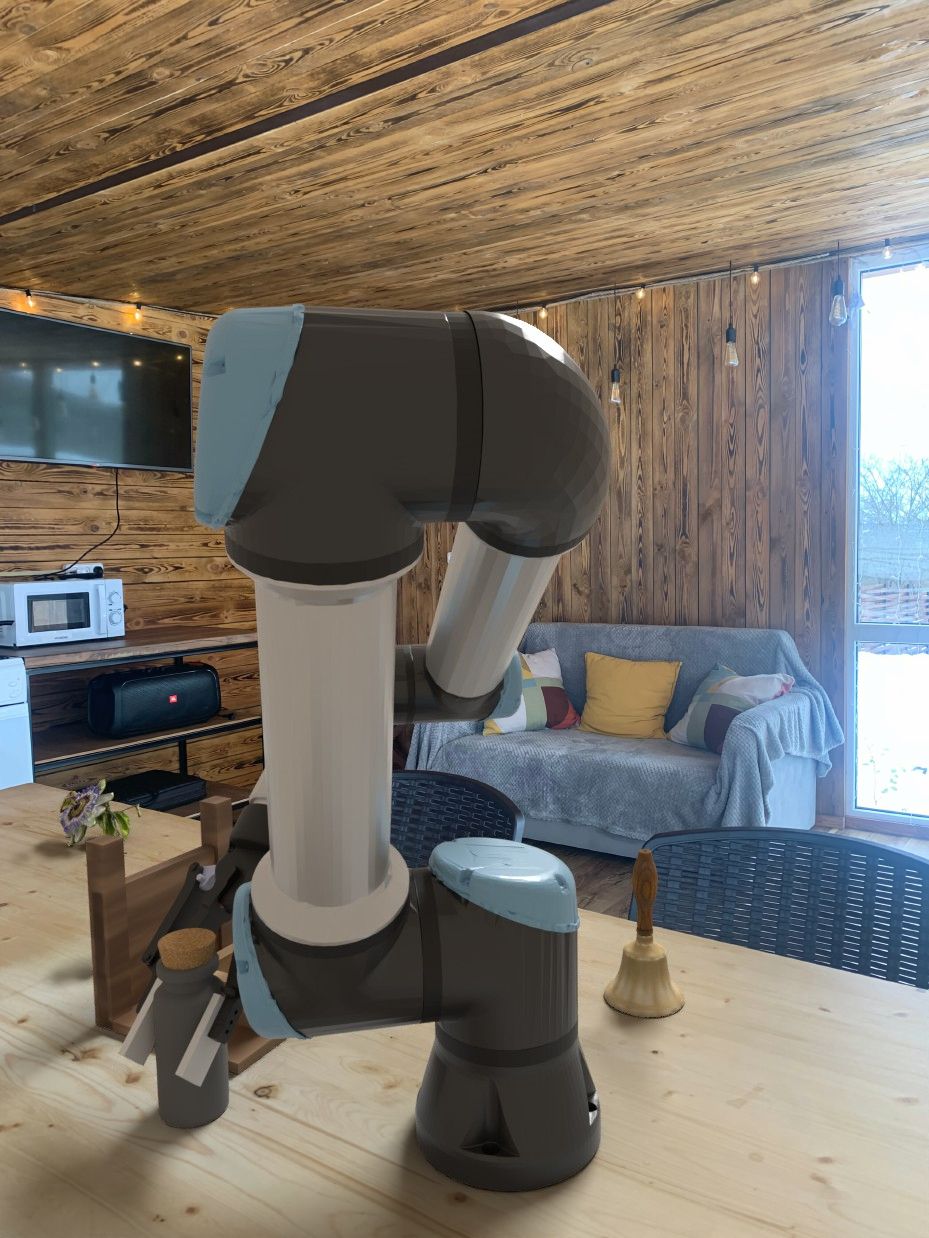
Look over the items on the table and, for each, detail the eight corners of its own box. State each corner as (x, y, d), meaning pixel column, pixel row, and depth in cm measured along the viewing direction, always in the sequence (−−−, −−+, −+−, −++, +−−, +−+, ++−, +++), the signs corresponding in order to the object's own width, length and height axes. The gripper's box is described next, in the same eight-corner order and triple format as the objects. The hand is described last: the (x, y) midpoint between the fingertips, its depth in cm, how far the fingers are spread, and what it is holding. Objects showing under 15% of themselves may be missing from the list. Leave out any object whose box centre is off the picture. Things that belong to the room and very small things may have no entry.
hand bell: (701, 1000, 96) (702, 851, 94) (647, 1027, 90) (647, 870, 89) (640, 971, 102) (640, 831, 101) (587, 995, 97) (586, 848, 96)
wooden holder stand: (353, 988, 99) (348, 816, 98) (238, 1074, 84) (230, 871, 82) (222, 953, 109) (215, 795, 107) (95, 1024, 93) (85, 841, 91)
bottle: (244, 1099, 80) (237, 933, 79) (191, 1137, 75) (182, 960, 74) (197, 1079, 83) (190, 919, 82) (143, 1114, 78) (135, 944, 77)
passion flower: (75, 878, 149) (38, 815, 151) (132, 847, 157) (97, 788, 159) (99, 852, 142) (60, 787, 144) (157, 822, 150) (120, 761, 152)
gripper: (379, 852, 86) (270, 1115, 73) (228, 825, 95) (107, 1055, 82) (344, 812, 81) (220, 1087, 68) (188, 788, 90) (52, 1026, 77)
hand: (159, 1069), depth 75 cm, fingers closed on bottle, 6 cm apart
